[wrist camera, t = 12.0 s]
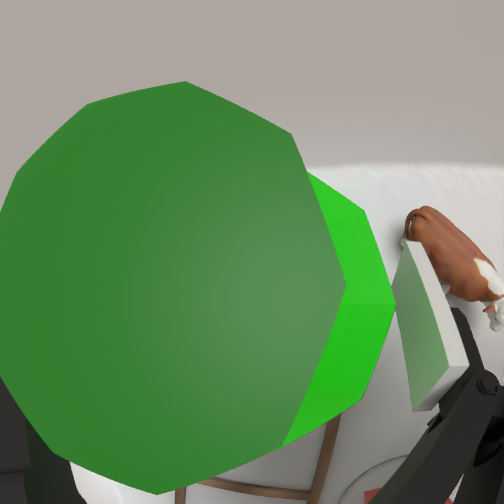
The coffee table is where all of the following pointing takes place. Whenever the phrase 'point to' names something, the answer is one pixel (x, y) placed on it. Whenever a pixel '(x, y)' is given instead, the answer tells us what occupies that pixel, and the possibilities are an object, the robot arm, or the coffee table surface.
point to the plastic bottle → (182, 290)
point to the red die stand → (373, 482)
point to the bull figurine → (457, 261)
